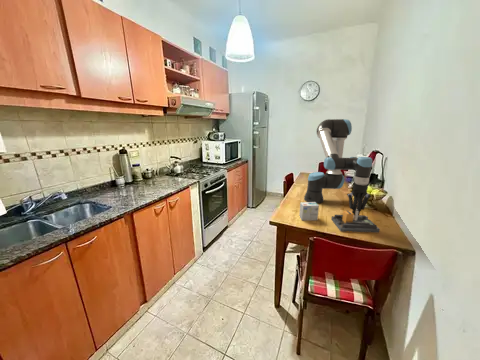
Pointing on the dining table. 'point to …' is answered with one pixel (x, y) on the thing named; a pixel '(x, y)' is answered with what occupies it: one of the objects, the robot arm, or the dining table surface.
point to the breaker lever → (347, 216)
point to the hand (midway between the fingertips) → (354, 219)
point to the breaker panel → (339, 222)
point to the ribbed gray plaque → (357, 224)
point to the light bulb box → (309, 210)
